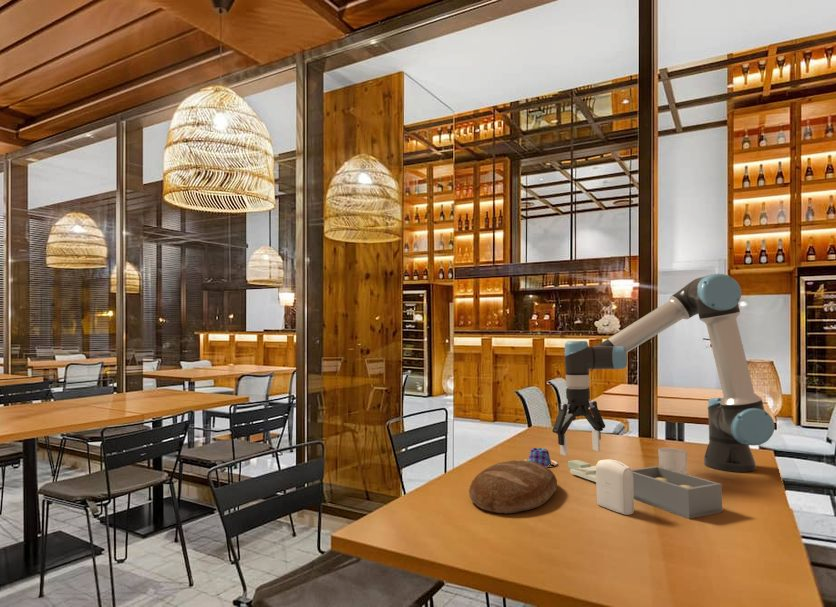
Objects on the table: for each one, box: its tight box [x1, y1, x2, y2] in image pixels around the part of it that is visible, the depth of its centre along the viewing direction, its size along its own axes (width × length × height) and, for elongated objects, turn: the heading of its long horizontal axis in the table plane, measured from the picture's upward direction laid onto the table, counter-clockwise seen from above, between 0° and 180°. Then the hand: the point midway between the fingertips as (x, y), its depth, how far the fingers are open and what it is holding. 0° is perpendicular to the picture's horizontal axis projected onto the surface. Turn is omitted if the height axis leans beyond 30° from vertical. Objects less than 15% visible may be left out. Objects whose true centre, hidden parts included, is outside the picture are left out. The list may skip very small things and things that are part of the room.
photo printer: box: [595, 458, 635, 516], centre depth 138 cm, size 10×4×12 cm, turn 26°
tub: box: [631, 465, 723, 520], centre depth 142 cm, size 12×20×7 cm, turn 24°
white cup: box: [657, 447, 688, 475], centre depth 161 cm, size 8×8×10 cm
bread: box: [468, 459, 558, 515], centre depth 151 cm, size 22×37×8 cm, turn 153°
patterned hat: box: [524, 447, 558, 468], centre depth 186 cm, size 12×12×5 cm
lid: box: [567, 459, 596, 483], centre depth 167 cm, size 13×27×3 cm, turn 24°
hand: (580, 452), depth 176 cm, fingers open, 13 cm apart
